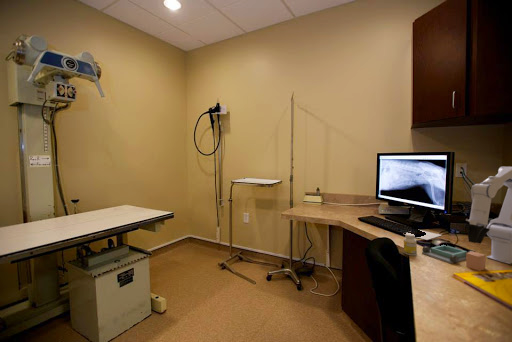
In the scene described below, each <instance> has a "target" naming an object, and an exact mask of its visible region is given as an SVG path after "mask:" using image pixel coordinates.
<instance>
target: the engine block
mask: <svg viewBox="0 0 512 342" xmlns="http://www.w3.org/2000/svg"><path fill="white" fill-rule="evenodd" d="M471 251H472V252H469V251H467V253H466V260H465V262H466V264H465V267H467V268H469V269H472V270H475V271H478V272H480V271H482V270H486V254H483V253H480V252H477V251H474V250H471ZM473 251H474V252H473Z"/></svg>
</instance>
